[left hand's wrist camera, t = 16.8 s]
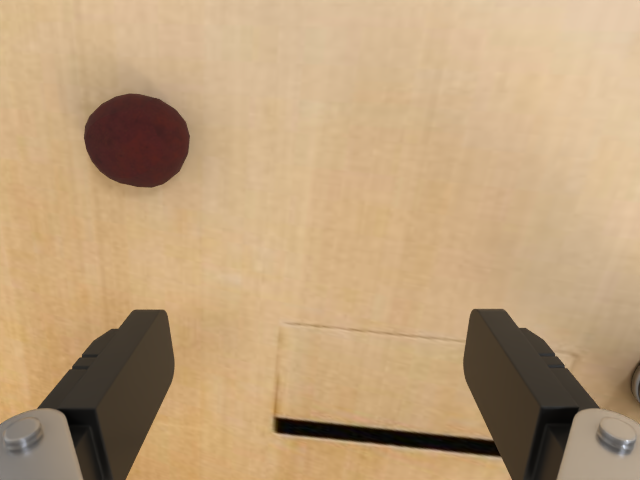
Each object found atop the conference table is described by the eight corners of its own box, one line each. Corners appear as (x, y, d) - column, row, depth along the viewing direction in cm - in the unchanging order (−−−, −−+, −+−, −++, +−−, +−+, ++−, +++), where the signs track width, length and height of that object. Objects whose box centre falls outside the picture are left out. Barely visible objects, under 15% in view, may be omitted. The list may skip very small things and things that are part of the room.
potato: (95, 112, 37) (46, 121, 30) (174, 76, 36) (142, 78, 29) (139, 189, 40) (103, 213, 33) (214, 158, 38) (192, 176, 32)
